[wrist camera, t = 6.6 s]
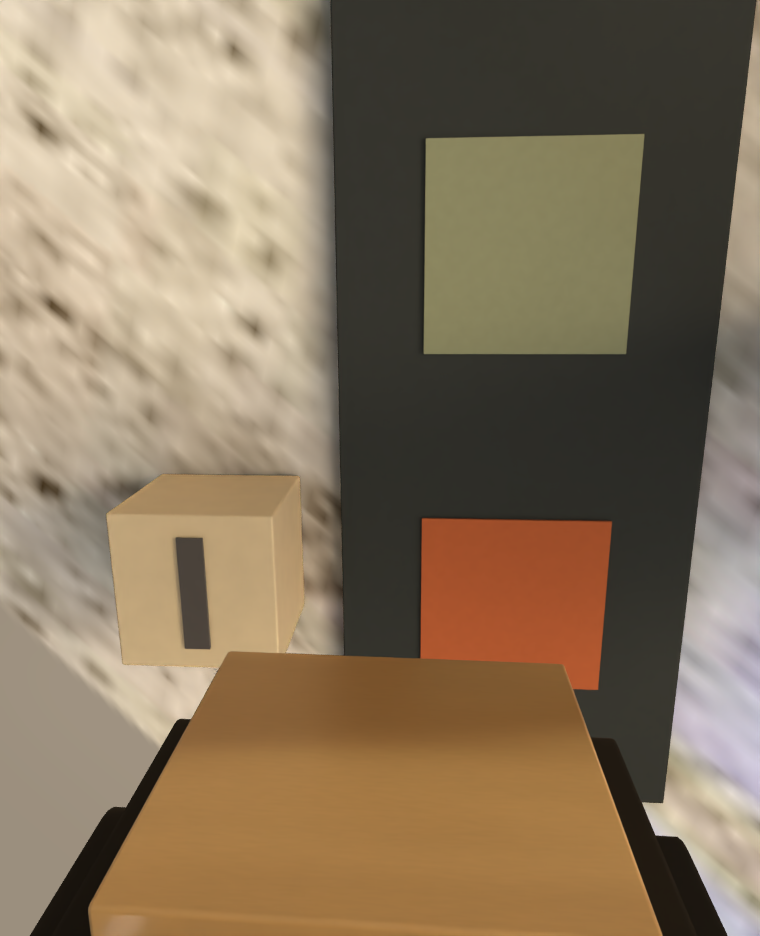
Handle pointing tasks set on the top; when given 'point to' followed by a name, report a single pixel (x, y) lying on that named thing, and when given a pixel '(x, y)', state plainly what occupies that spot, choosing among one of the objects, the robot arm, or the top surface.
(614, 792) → the robot arm
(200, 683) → the top surface
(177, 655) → the tile
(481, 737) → the light orange block
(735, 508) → the top surface
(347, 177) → the word mat
